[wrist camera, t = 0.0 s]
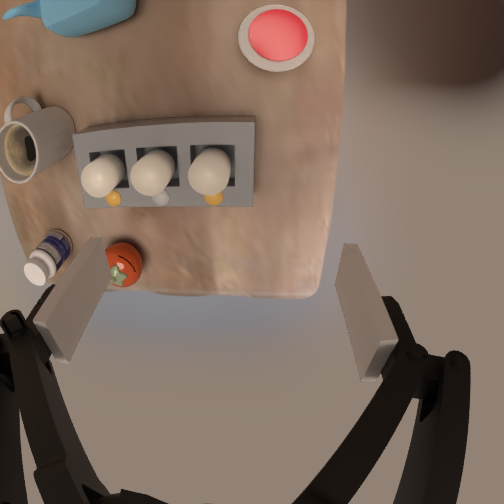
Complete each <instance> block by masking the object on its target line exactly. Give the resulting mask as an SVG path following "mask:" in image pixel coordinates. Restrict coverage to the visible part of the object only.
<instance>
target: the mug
mask: <svg viewBox="0 0 504 504" xmlns="http://www.w3.org/2000/svg"><path fill="white" fill-rule="evenodd" d="M17 103H24V104H27V105H28V106H29V107H30V108H31V109H32V110H33V113H30V114H28V115H25V116H22V117H20V118H17V119H15V120H14V119H13V117H12V109H13V107H14V105H15V104H17ZM4 120H5V125H4V126H3V127H2V128H1V129H0V170H1V172H2V173H3V175H4V176H5V177H6V178H7V179H9V180H10V181H12V182H14V183H25V182H27V181H29V180H30V179H32V178H33V177H35V176H36V175H38V174H39V173H41V172H42V171H43V170H45V169H46V168H48V167H49V166H51V165H53V164H54V163H56V162H57V161H59V160H60V159H62V158H63V157H65V156H66V155H67V154H68V153H69V152H70V150H71V149H72V147H73V137H72V135H73V134H75V127H74V123H73V120H72V118H71V117H70V115H69V114H68V113H67V112H66V111H65V110H64V109H62V108H60V107H56V106H51V107H47V108H44V109H41V107H40V105H39V103H38V102H37V101H36V100H34V99H33V98H31V97H28V96H20V97H18V98H16V99H15V100H13V101H12V102H11V103H10V104H9V105H8V106H7V108H6V110H5V114H4Z"/></svg>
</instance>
